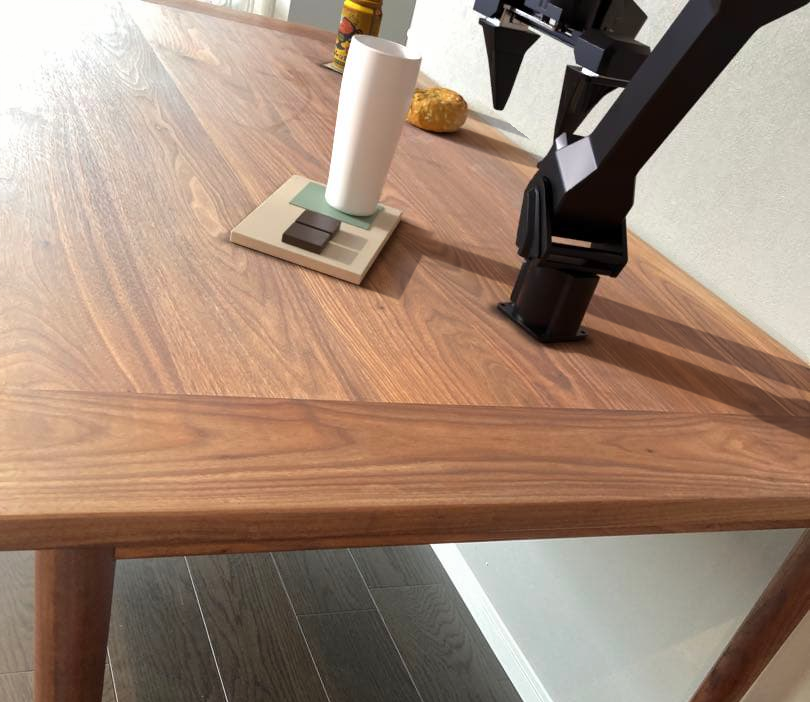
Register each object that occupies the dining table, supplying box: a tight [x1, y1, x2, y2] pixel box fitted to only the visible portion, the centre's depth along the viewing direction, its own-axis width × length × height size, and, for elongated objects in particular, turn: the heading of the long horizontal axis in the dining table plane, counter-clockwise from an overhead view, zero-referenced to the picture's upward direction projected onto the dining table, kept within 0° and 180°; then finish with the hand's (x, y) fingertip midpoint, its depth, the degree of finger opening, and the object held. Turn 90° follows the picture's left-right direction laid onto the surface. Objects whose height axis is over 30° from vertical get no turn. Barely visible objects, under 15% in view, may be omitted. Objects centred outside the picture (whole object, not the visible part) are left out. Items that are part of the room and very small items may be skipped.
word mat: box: [229, 173, 404, 286], centre depth 88 cm, size 20×12×2 cm, turn 169°
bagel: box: [406, 86, 469, 133], centre depth 130 cm, size 10×11×5 cm
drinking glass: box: [325, 35, 423, 216], centre depth 88 cm, size 7×7×15 cm
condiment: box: [321, 0, 384, 74], centre depth 141 cm, size 7×8×12 cm
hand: (527, 127), depth 87 cm, fingers open, 9 cm apart
